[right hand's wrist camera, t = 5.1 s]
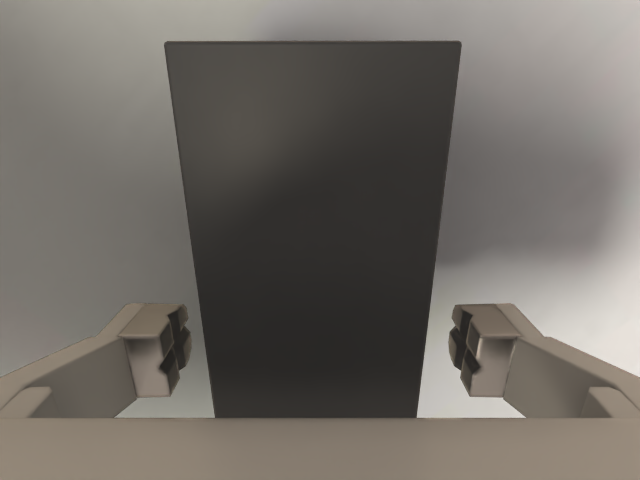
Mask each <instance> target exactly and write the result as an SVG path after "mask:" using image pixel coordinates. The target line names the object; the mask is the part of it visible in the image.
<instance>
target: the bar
mask: <svg viewBox="0 0 640 480" xmlns="http://www.w3.org/2000/svg"><path fill="white" fill-rule="evenodd" d="M461 46H462V45H461V42H460V41H167V42H165V44H164V48H165V55H166V62H167V70H168V77H169V84H170V92H171V99H172V106H173V114H174V121H175V128H176V135H177V143H178V150H179V157H180V165H181V172H182V179H183V187H184V194H185V201H186V209H187V216H188V223H189V230H190V238H191V245H192V252H193V260H194V267H195V274H196V282H197V289H198V296H199V304H200V311H201V318H202V325H203V333H204V340H205V347H206V355H207V362H208V369H209V377H210V384H211V391H212V399H213V406H214V413H215V418H416V417H417V409H418V401H419V393H420V384H421V376H422V368H423V360H424V351H425V343H426V335H427V327H428V318H429V310H430V302H431V294H432V285H433V277H434V269H435V261H436V252H437V244H438V236H439V228H440V219H441V211H442V203H443V194H444V186H445V178H446V170H447V161H448V153H449V145H450V137H451V128H452V120H453V112H454V104H455V95H456V87H457V79H458V71H459V62H460V54H461Z"/></svg>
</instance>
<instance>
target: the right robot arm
mask: <svg viewBox="0 0 640 480" xmlns="http://www.w3.org/2000/svg"><path fill="white" fill-rule="evenodd" d="M187 320H188V313H187V308H186V307H185V305H184V304H147V303H134V304H126V305H125V306H124V307H123V308H122V309H121V311H120V312H119V313H118V314H117V315H116V316H115V317H114V318H113V319H112V320H111V321H110V322H109V323H108V324H107V325H106V326H105V328H104V329H103V330H102V331H101V332H100V333H99V334H98V335H97V336H96V337H88V338H86V339H84V340H82V341H80V342H77V343H75V344H73V345H71V346H69V347H66V348H64V349H62V350H60V351H57V352H55V353H53V354H51V355H49V356H46V357H44V358H42V359H40V360H38V361H35V362H33V363H31V364H29V365H27V366H24V367H22V368H20V369H18V370H15V371H13V372H11V373H9V374H7V375H4V376H2V377H0V480H640V377H638V376H635V375H633V374H631V373H629V372H627V371H624V370H622V369H620V368H618V367H616V366H613V365H611V364H609V363H607V362H605V361H602V360H600V359H598V358H596V357H594V356H591V355H589V354H587V353H585V352H583V351H580V350H578V349H576V348H574V347H571V346H569V345H567V344H565V343H563V342H560V341H558V340H556V339H554V338H552V337H544V336H543V335H542V334H541V333H540V332H539V331H538V330H537V329H536V327H535V326H534V325H533V324H532V323H531V322H530V321H529V320H528V319H527V318H526V317H525V316H524V315H523V314H522V313H521V312H520V310H519V309H518V308H517V307H516V306H515V305H513V304H511V303H500V304H462V305H455V307H454V309H453V313H452V320H453V321H454V323H455V325H456V326H455V327H454V328H453V329H452V330H451V331H450V333H449V342H448V343H449V353H450V357H451V360H452V362H453V364H454V366H455V367H456V368H458V369H459V370H461V376H460V378H461V380H462V382H463V384H464V386H465V388H466V390H467V392H468V394H469V396H470V397H504V398H503V399H504V400H505V401H506V402H508V403H509V404H510V405H511V406H513V407H514V408H515V409H516V410H518V411H519V412H520V413H521V414H523V415H524V416H525V417H526V418H114V417H115V416H116V415H118V414H119V413H120V412H121V411H123V410H124V409H125V408H126V407H128V406H129V405H130V404H131V403H133V402H134V401H135V400H136V399H137V398H136V397H170V396H171V394H172V392H173V390H174V388H175V386H176V384H177V382H178V380H179V379H180V376H179V370H181V369H182V368H184V367H185V366H186V364H187V362H188V360H189V357H190V352H191V332H190V331H189V330H188V329H187V328H186V327H185V326H184V325H185V323H186V321H187Z"/></svg>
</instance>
